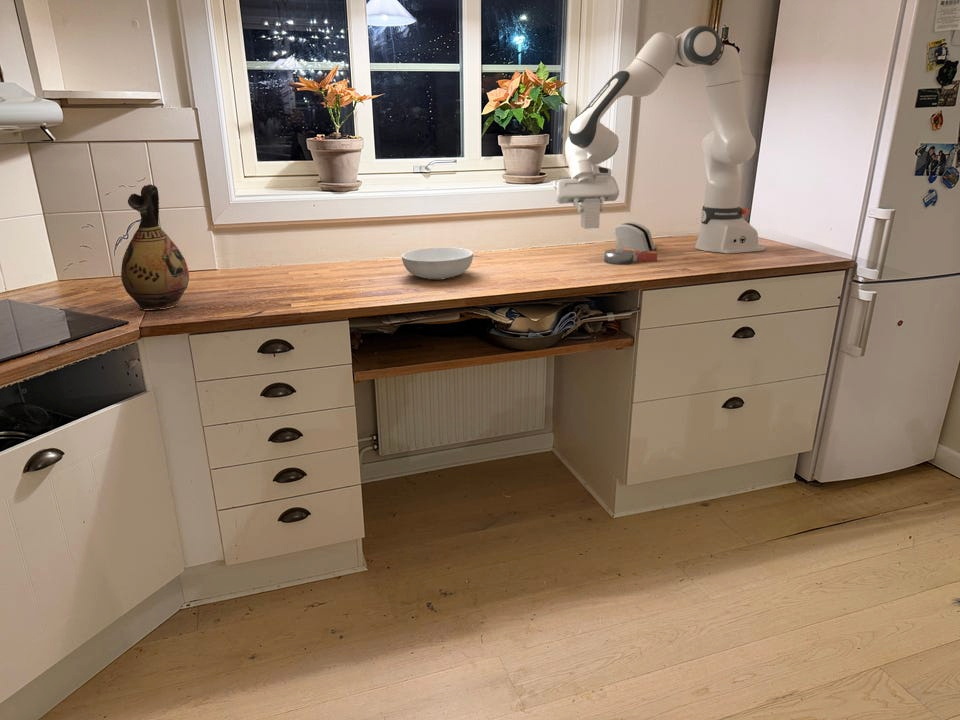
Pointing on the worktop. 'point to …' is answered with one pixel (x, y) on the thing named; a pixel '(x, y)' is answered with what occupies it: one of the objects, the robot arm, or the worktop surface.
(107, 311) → the worktop surface
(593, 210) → the grey block
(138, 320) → the worktop surface
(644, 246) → the grey black slotted block
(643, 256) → the grey dome with handle
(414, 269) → the serving bowl
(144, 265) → the ceramic jug
